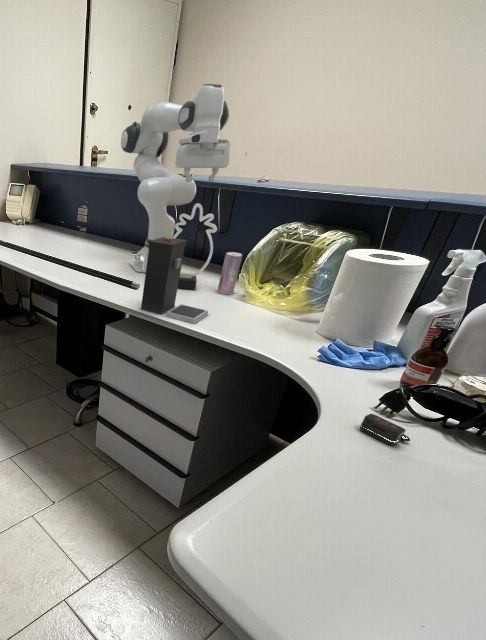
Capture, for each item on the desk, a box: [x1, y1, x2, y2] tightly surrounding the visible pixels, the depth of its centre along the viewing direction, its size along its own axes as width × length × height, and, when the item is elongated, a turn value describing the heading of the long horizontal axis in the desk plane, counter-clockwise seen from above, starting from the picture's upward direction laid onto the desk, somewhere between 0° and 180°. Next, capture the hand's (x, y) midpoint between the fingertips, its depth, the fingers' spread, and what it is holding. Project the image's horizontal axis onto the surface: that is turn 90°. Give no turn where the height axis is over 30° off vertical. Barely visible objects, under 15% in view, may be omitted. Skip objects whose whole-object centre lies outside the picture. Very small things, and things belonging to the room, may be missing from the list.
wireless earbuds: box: [359, 413, 411, 446], centre depth 80 cm, size 5×7×3 cm, turn 27°
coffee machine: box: [140, 237, 209, 324], centre depth 135 cm, size 20×11×24 cm, turn 49°
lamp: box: [173, 202, 218, 291], centre depth 160 cm, size 17×9×32 cm, turn 73°
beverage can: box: [217, 251, 243, 295], centre depth 158 cm, size 6×6×15 cm
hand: (199, 181), depth 150 cm, fingers open, 8 cm apart
